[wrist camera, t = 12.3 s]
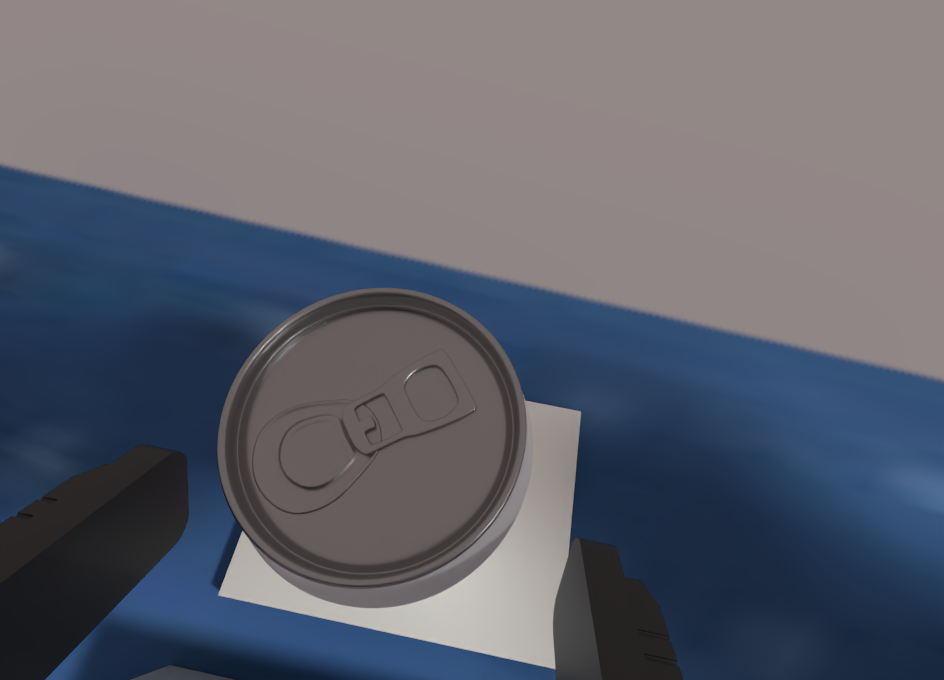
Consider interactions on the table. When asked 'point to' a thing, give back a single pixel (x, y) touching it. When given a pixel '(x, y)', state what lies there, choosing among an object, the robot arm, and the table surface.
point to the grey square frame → (178, 675)
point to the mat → (488, 587)
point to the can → (376, 447)
